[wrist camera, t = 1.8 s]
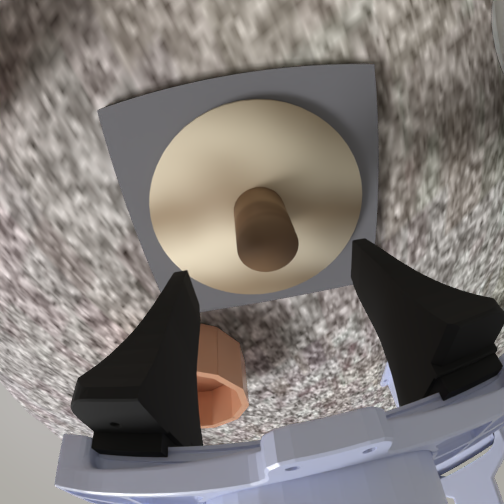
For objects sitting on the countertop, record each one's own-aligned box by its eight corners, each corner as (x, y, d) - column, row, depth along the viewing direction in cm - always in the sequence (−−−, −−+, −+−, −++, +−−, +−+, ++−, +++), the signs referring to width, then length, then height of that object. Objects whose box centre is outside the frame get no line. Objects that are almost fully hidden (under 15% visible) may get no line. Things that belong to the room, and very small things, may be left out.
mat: (367, 272, 24) (371, 280, 24) (172, 307, 25) (171, 316, 24) (367, 63, 15) (374, 64, 15) (103, 107, 16) (97, 110, 15)
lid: (355, 268, 23) (379, 313, 19) (183, 300, 23) (178, 350, 19) (352, 88, 15) (393, 99, 11) (126, 126, 16) (96, 148, 12)
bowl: (251, 382, 32) (255, 422, 27) (155, 392, 32) (151, 430, 28) (230, 312, 25) (233, 361, 21) (111, 328, 26) (98, 373, 21)
